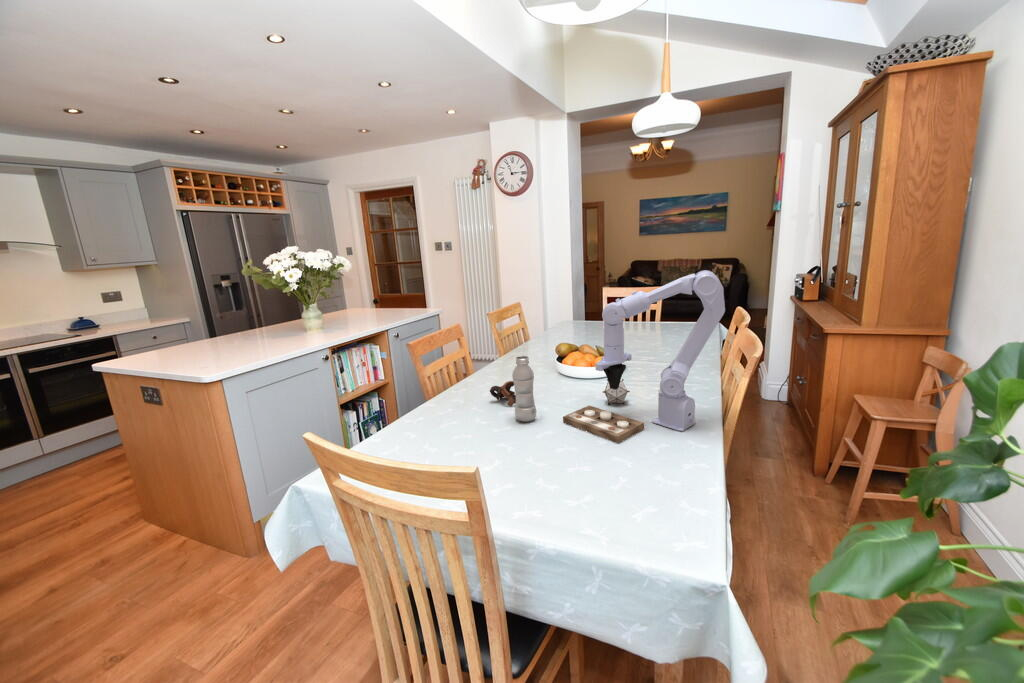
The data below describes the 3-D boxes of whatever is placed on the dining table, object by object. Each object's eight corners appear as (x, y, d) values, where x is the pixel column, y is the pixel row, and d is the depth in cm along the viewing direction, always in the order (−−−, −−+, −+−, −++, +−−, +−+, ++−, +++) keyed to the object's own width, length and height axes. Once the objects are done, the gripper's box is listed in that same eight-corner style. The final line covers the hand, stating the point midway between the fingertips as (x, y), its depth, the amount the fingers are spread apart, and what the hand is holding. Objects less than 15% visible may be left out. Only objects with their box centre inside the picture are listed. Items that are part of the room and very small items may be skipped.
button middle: (613, 419, 128) (613, 413, 127) (606, 422, 126) (606, 416, 125) (604, 416, 130) (604, 410, 130) (597, 419, 128) (597, 413, 128)
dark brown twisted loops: (521, 396, 157) (526, 380, 152) (521, 416, 150) (526, 400, 145) (488, 390, 156) (492, 374, 151) (486, 410, 148) (490, 394, 143)
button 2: (630, 429, 123) (630, 422, 123) (624, 432, 121) (624, 426, 121) (621, 426, 126) (621, 419, 125) (614, 429, 124) (614, 422, 123)
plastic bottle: (535, 424, 131) (531, 360, 127) (513, 424, 133) (509, 360, 128) (538, 416, 137) (535, 354, 133) (517, 415, 139) (513, 354, 134)
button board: (644, 429, 123) (644, 421, 123) (618, 443, 116) (618, 435, 115) (589, 411, 138) (589, 404, 138) (563, 422, 131) (562, 415, 131)
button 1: (597, 417, 132) (597, 411, 132) (590, 421, 130) (590, 414, 130) (589, 415, 135) (589, 409, 134) (582, 418, 133) (582, 412, 132)
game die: (619, 416, 143) (621, 399, 135) (596, 403, 147) (597, 386, 139) (633, 396, 147) (635, 379, 139) (610, 384, 151) (612, 367, 143)
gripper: (617, 337, 135) (618, 379, 138) (586, 347, 126) (587, 391, 129) (637, 340, 129) (637, 384, 132) (606, 350, 120) (607, 397, 123)
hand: (614, 388), depth 130 cm, fingers closed
